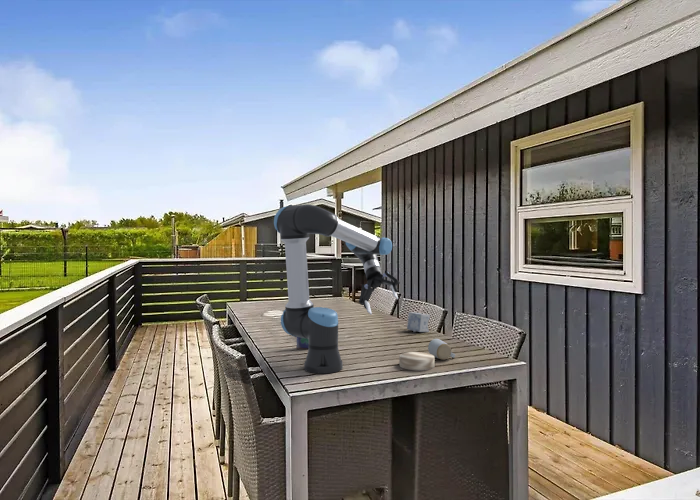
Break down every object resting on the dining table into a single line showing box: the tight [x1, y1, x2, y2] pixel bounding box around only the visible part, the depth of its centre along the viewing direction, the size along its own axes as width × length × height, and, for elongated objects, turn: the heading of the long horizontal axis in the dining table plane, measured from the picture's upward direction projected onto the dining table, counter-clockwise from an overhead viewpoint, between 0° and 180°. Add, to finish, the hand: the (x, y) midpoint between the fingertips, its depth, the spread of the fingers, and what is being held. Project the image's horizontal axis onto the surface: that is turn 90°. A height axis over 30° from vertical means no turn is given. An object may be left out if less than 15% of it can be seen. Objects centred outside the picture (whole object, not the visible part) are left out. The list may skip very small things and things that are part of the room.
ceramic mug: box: [427, 338, 456, 361], centre depth 201 cm, size 11×8×8 cm
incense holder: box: [406, 311, 431, 333], centre depth 257 cm, size 10×8×10 cm
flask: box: [296, 337, 309, 350], centre depth 219 cm, size 9×3×11 cm, turn 80°
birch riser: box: [398, 351, 436, 371], centre depth 189 cm, size 14×14×4 cm
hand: (382, 305), depth 201 cm, fingers open, 13 cm apart
